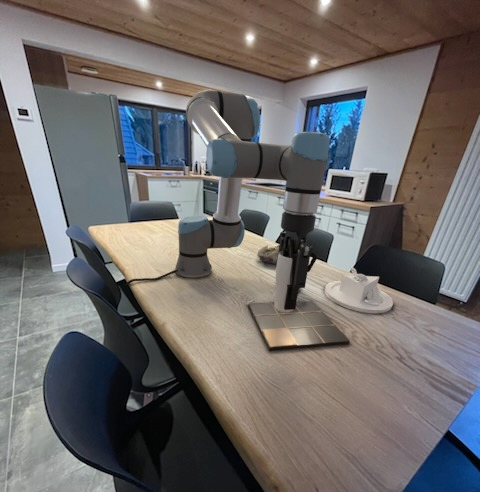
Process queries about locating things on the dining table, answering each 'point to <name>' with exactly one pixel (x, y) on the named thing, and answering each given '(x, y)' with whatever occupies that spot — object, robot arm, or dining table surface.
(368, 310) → the dish
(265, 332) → the board
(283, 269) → the drinking glass
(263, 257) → the geode
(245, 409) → the dining table surface
